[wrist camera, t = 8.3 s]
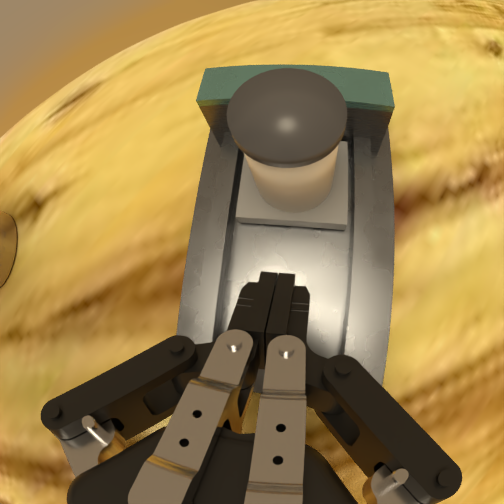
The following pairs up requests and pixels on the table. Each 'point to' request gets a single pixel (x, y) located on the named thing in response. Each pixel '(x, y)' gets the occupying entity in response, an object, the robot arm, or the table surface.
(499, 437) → the table surface
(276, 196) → the knob carriage
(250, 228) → the knob mount
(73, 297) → the table surface
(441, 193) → the table surface
